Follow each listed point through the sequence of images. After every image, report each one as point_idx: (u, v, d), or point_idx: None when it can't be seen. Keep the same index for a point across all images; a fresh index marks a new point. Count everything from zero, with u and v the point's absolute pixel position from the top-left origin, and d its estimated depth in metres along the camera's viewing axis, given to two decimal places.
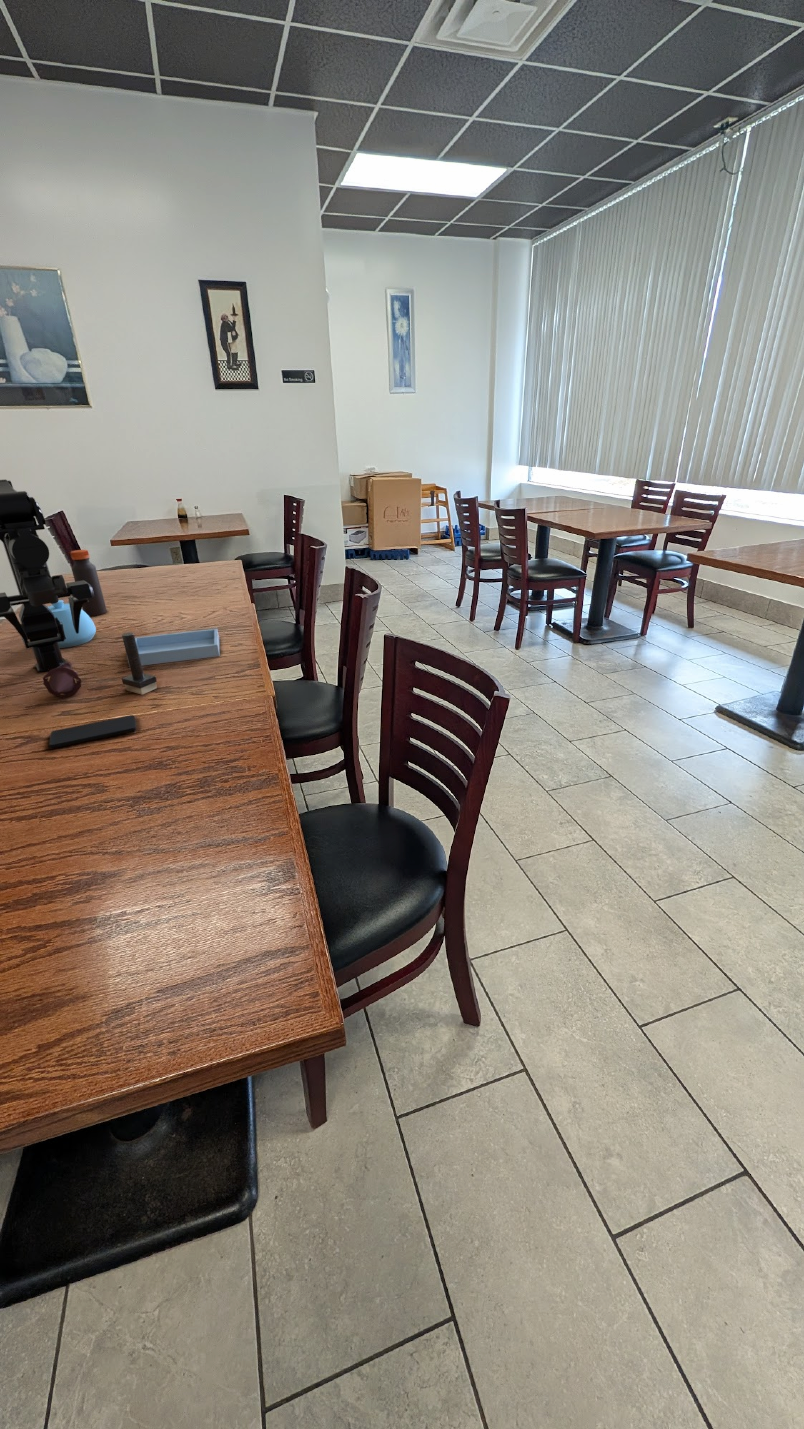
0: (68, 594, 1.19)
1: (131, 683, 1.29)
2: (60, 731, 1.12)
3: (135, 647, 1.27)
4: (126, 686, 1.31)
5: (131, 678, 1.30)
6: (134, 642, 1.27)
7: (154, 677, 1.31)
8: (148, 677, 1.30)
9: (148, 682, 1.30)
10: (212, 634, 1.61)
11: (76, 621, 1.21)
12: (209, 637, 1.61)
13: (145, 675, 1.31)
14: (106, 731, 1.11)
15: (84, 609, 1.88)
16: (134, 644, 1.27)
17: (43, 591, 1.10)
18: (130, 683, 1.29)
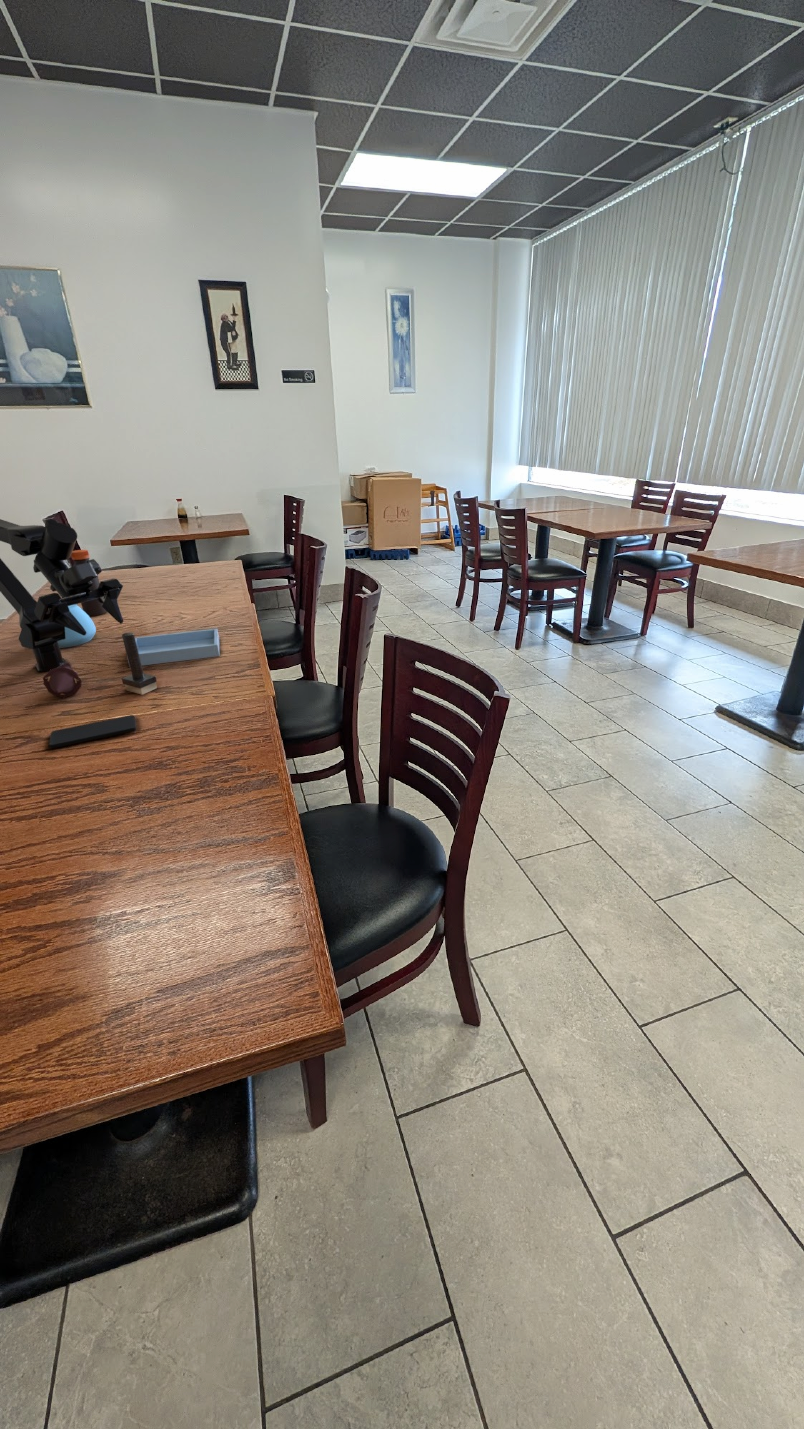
0: (101, 593, 1.33)
1: (131, 683, 1.29)
2: (60, 731, 1.12)
3: (135, 647, 1.27)
4: (126, 686, 1.31)
5: (131, 678, 1.30)
6: (134, 642, 1.27)
7: (154, 677, 1.31)
8: (148, 677, 1.30)
9: (148, 682, 1.30)
10: (212, 634, 1.61)
11: (117, 610, 1.33)
12: (209, 637, 1.61)
13: (145, 675, 1.31)
14: (106, 731, 1.11)
15: (84, 609, 1.88)
16: (134, 644, 1.27)
17: (83, 564, 1.25)
18: (130, 683, 1.29)
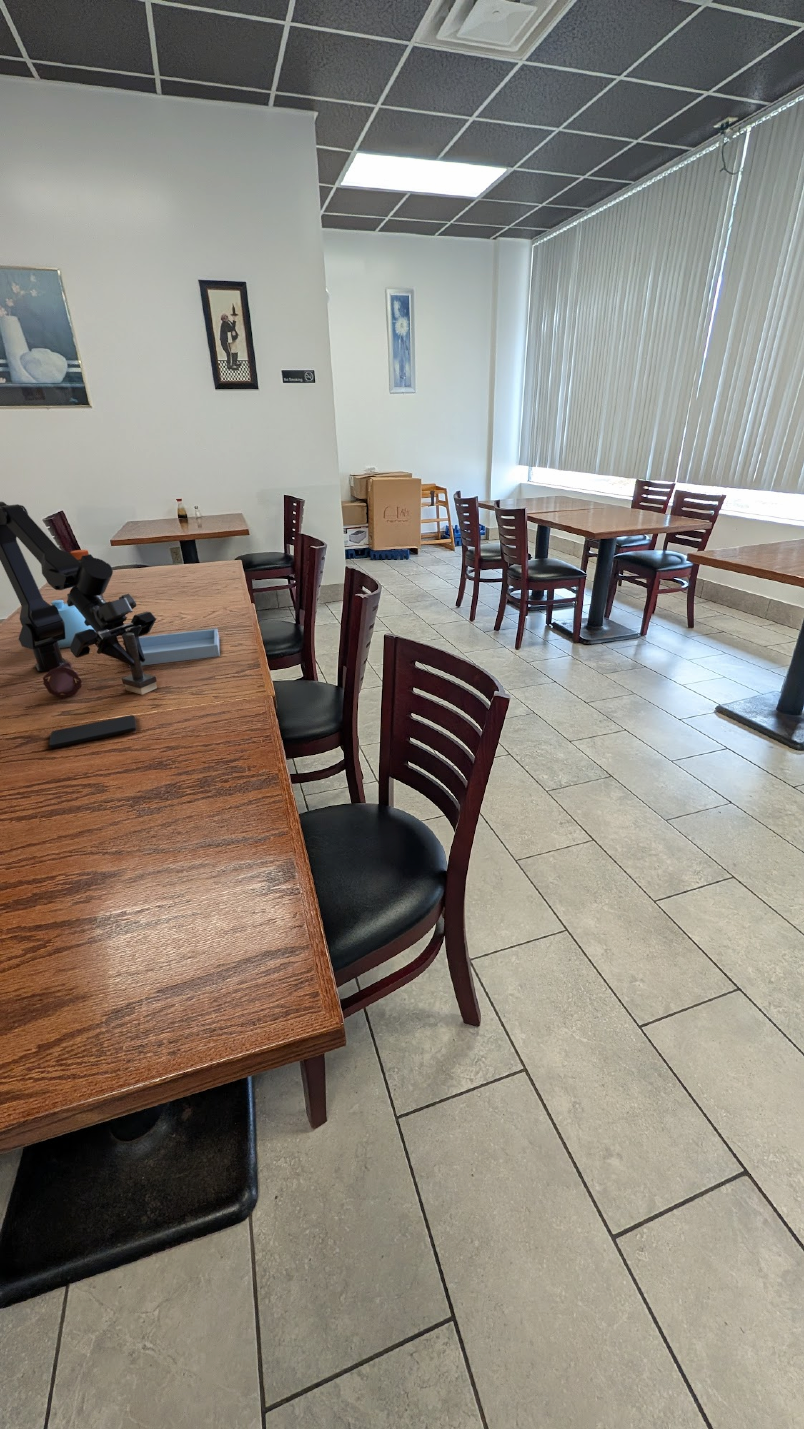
0: (122, 630, 1.30)
1: (131, 683, 1.29)
2: (60, 731, 1.12)
3: (135, 647, 1.27)
4: (126, 686, 1.31)
5: (131, 678, 1.30)
6: (134, 642, 1.27)
7: (154, 677, 1.31)
8: (148, 677, 1.30)
9: (148, 682, 1.30)
10: (212, 634, 1.61)
11: (139, 648, 1.29)
12: (209, 637, 1.61)
13: (145, 675, 1.31)
14: (106, 731, 1.11)
15: None
16: (134, 644, 1.27)
17: (118, 600, 1.23)
18: (130, 683, 1.29)
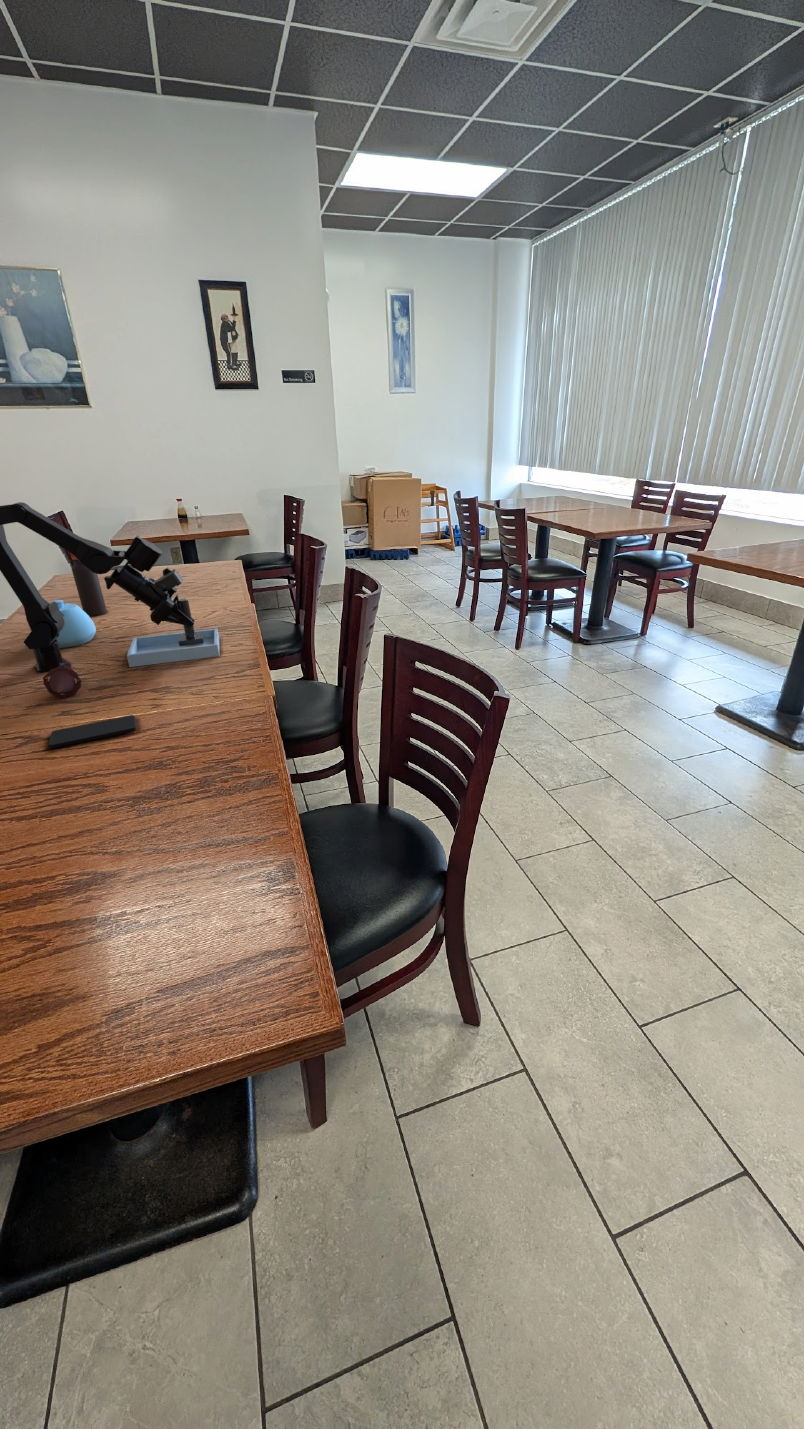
0: None
1: (191, 642, 1.52)
2: (60, 731, 1.12)
3: None
4: (183, 647, 1.52)
5: (187, 639, 1.52)
6: None
7: (202, 634, 1.56)
8: (200, 635, 1.55)
9: (203, 638, 1.54)
10: (212, 634, 1.61)
11: None
12: (209, 637, 1.61)
13: None
14: (106, 731, 1.11)
15: (84, 609, 1.88)
16: (189, 607, 1.50)
17: (175, 570, 1.46)
18: (190, 642, 1.52)
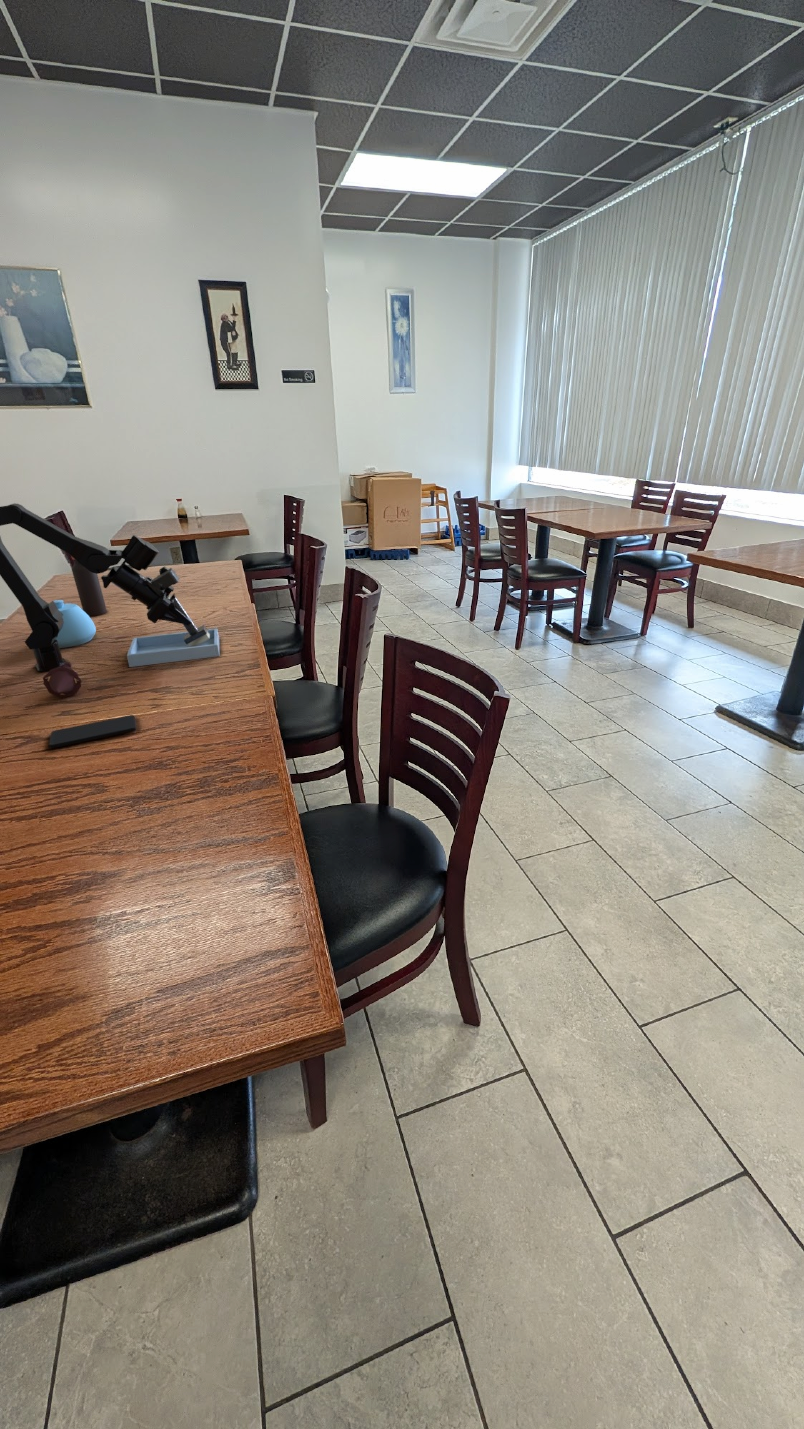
0: None
1: (195, 637, 1.53)
2: (60, 731, 1.12)
3: None
4: (190, 644, 1.53)
5: (191, 635, 1.53)
6: (179, 603, 1.51)
7: (204, 625, 1.56)
8: (202, 627, 1.55)
9: (205, 629, 1.55)
10: (212, 634, 1.61)
11: None
12: None
13: None
14: (106, 731, 1.11)
15: (84, 609, 1.88)
16: (180, 604, 1.51)
17: (172, 569, 1.47)
18: (195, 637, 1.53)
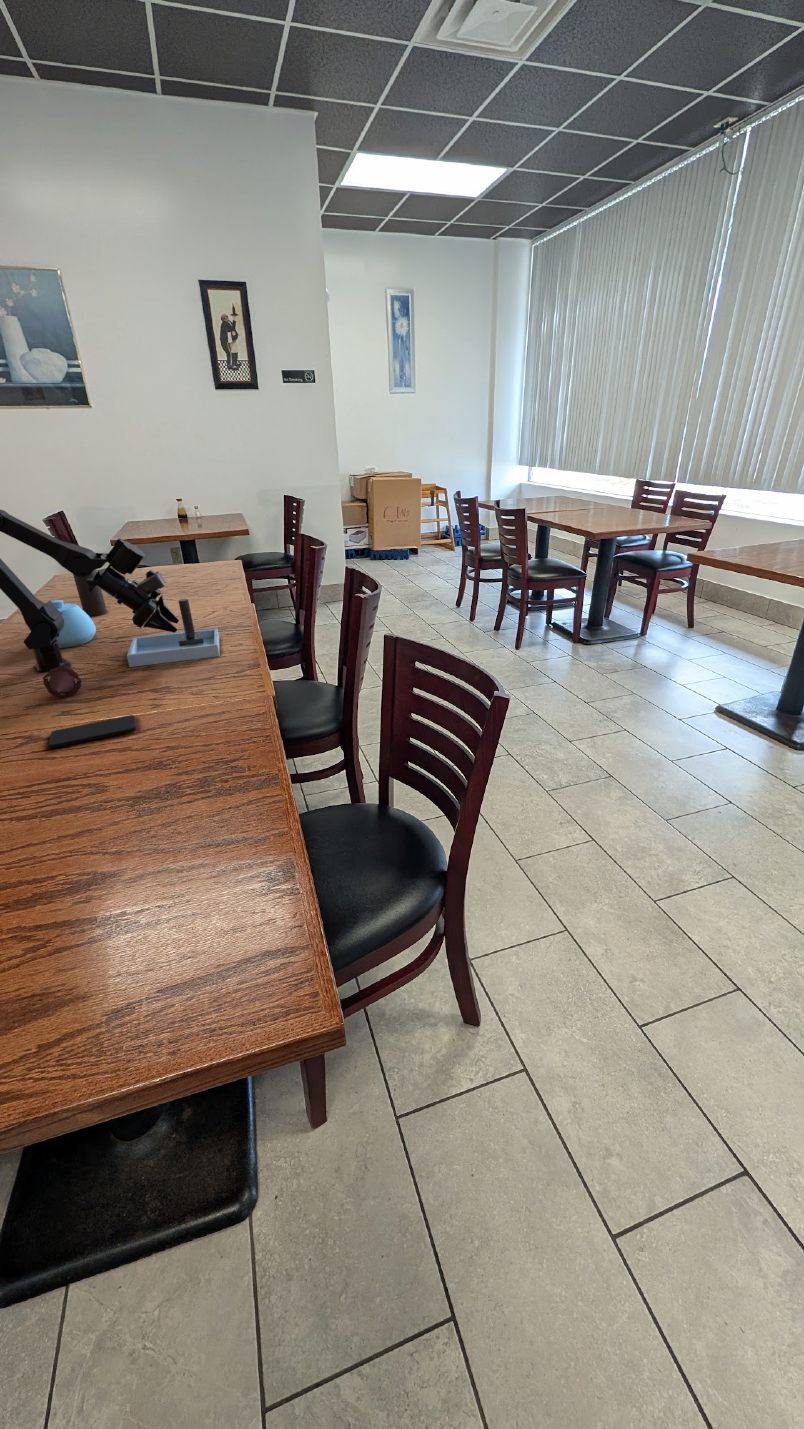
0: (151, 601, 1.51)
1: (191, 642, 1.52)
2: (60, 731, 1.12)
3: None
4: (183, 647, 1.52)
5: (187, 639, 1.52)
6: None
7: None
8: (200, 635, 1.55)
9: (203, 638, 1.54)
10: (212, 634, 1.61)
11: (171, 612, 1.54)
12: (209, 637, 1.61)
13: None
14: (106, 731, 1.11)
15: (84, 609, 1.88)
16: (189, 607, 1.50)
17: (158, 573, 1.45)
18: (190, 642, 1.52)
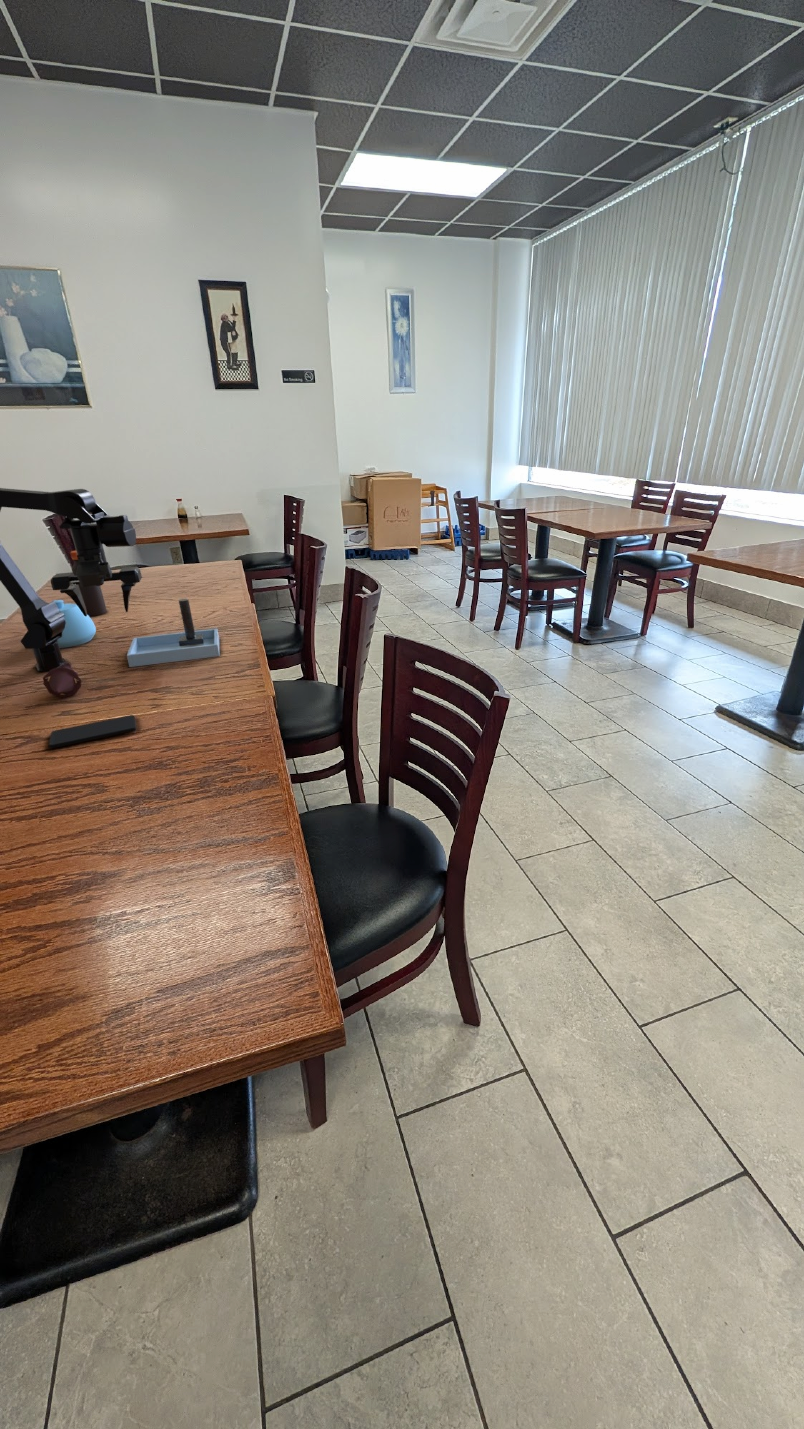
0: (120, 578, 1.39)
1: (191, 642, 1.52)
2: (60, 731, 1.12)
3: (190, 610, 1.51)
4: (183, 647, 1.52)
5: (187, 639, 1.52)
6: None
7: None
8: (200, 635, 1.55)
9: (203, 638, 1.54)
10: (212, 634, 1.61)
11: (125, 601, 1.41)
12: (209, 637, 1.61)
13: None
14: (106, 731, 1.11)
15: None
16: (189, 607, 1.50)
17: (88, 575, 1.30)
18: (190, 642, 1.52)
